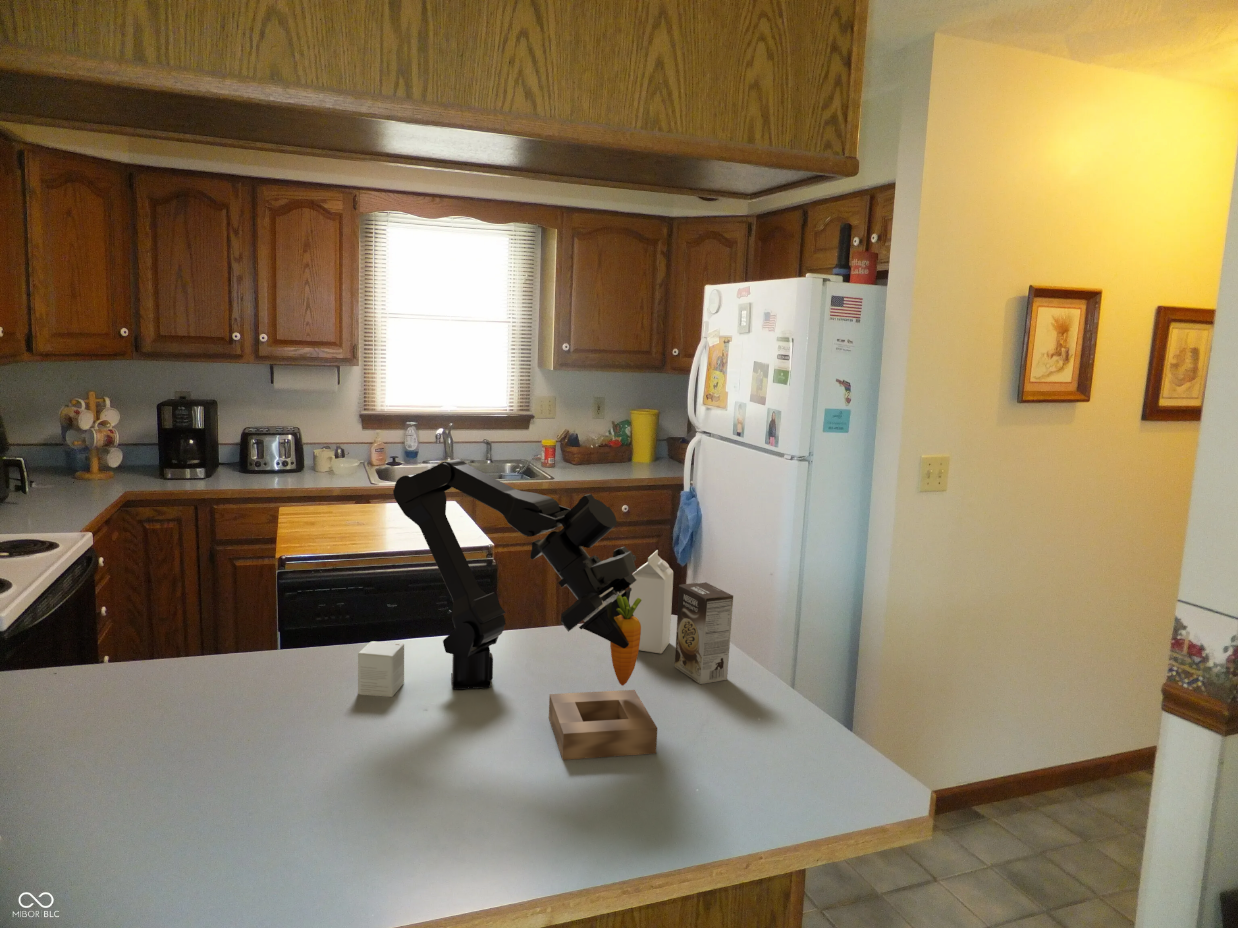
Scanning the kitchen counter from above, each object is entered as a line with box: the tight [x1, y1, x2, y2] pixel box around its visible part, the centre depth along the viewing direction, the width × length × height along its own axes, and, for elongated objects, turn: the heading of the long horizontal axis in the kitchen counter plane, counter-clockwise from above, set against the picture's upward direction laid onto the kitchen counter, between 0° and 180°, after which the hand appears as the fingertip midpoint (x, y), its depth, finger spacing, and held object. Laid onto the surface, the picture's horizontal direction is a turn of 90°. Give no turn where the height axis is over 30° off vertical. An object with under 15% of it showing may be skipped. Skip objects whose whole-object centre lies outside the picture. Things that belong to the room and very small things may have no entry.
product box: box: [357, 640, 405, 698], centre depth 145 cm, size 6×6×7 cm
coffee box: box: [674, 582, 734, 685], centre depth 157 cm, size 9×6×16 cm
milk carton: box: [629, 549, 674, 654], centre depth 170 cm, size 7×7×19 cm
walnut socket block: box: [548, 689, 658, 761], centre depth 132 cm, size 14×14×4 cm
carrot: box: [609, 595, 642, 686], centre depth 136 cm, size 5×5×15 cm
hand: (632, 641), depth 135 cm, fingers closed on carrot, 5 cm apart
